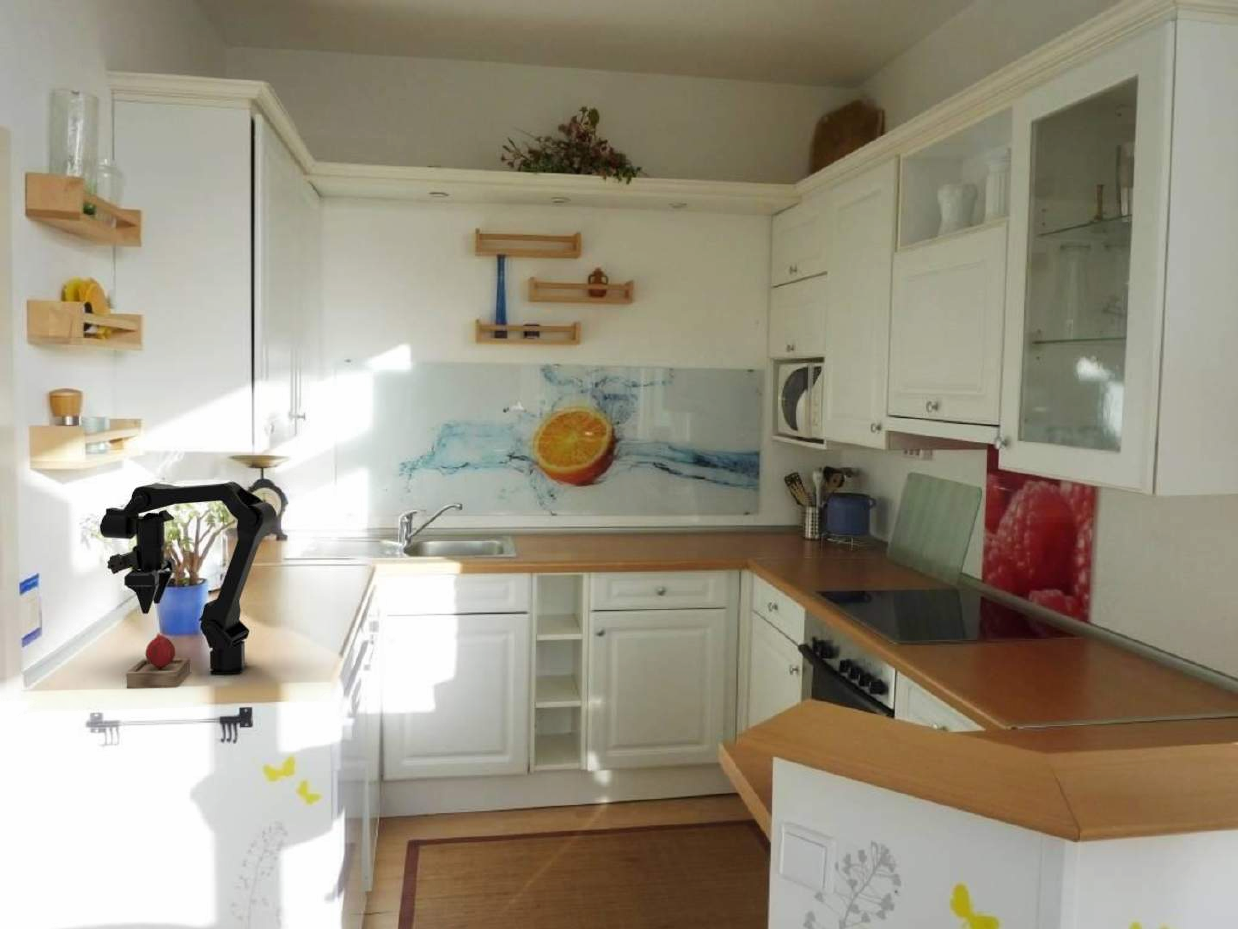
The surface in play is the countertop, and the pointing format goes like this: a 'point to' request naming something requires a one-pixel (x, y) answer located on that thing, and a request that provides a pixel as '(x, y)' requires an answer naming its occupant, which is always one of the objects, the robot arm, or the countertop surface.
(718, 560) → the countertop surface
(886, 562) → the countertop surface
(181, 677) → the brown wooden tray
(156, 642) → the onion
